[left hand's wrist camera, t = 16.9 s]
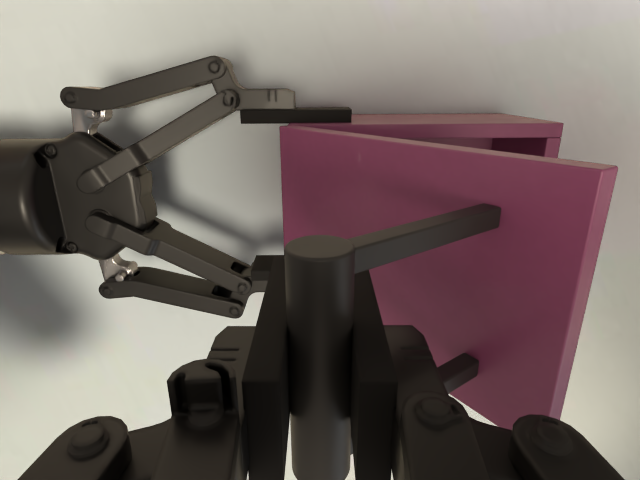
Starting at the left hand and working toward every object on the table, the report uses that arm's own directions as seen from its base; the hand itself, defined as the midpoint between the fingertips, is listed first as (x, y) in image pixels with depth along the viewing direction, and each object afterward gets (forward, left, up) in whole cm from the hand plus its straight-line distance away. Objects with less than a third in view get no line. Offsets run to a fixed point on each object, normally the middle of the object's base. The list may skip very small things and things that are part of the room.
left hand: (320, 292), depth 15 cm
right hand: (-2, -1, -14) cm, 14 cm away
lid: (-3, -2, -5) cm, 6 cm away
